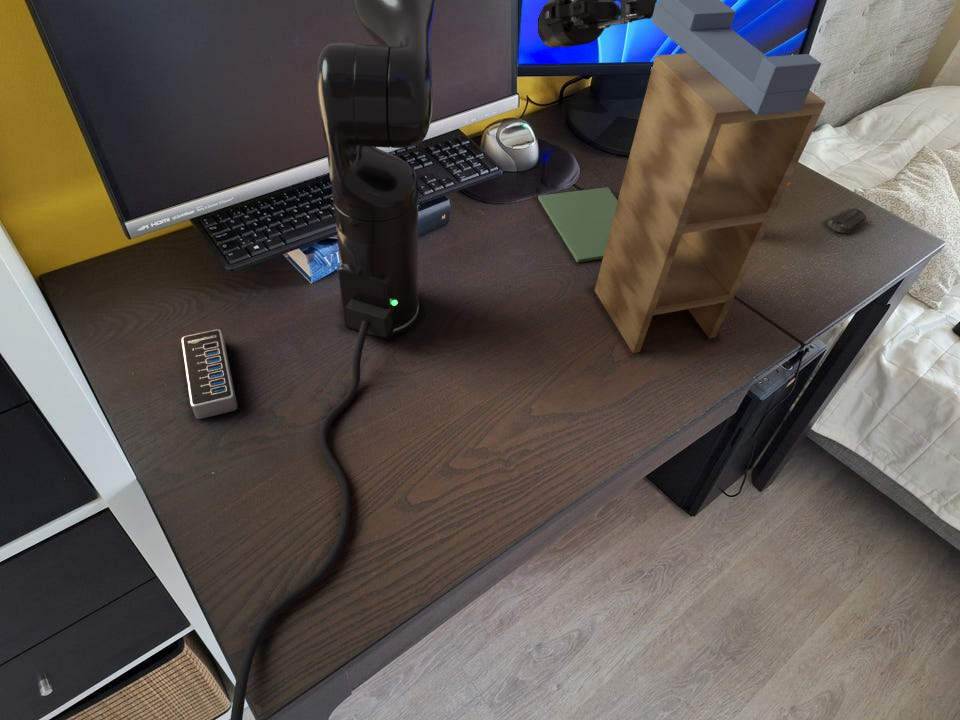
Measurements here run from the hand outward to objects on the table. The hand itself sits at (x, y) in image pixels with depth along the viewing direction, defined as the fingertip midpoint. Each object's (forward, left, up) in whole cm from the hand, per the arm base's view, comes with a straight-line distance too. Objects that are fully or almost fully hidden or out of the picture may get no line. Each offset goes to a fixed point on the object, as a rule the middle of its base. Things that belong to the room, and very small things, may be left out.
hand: (623, 4), depth 85 cm
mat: (-6, -3, -29) cm, 30 cm away
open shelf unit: (-22, -15, -29) cm, 39 cm away
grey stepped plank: (-19, -13, +3) cm, 23 cm away
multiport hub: (-54, +31, -29) cm, 69 cm away
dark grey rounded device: (+11, -40, -29) cm, 51 cm away
